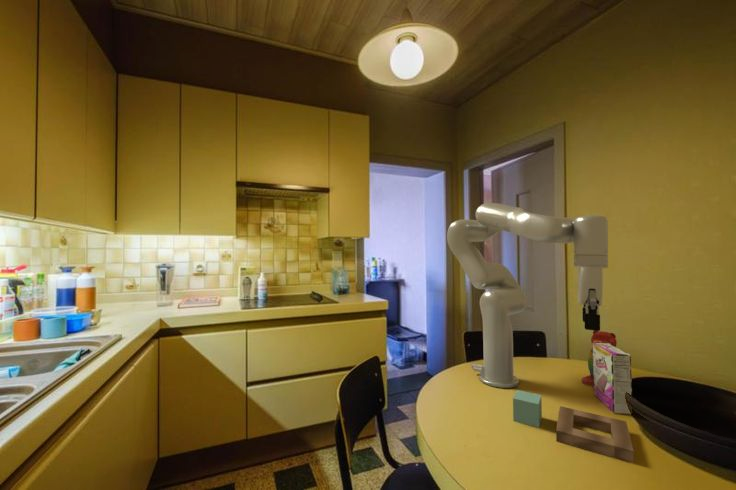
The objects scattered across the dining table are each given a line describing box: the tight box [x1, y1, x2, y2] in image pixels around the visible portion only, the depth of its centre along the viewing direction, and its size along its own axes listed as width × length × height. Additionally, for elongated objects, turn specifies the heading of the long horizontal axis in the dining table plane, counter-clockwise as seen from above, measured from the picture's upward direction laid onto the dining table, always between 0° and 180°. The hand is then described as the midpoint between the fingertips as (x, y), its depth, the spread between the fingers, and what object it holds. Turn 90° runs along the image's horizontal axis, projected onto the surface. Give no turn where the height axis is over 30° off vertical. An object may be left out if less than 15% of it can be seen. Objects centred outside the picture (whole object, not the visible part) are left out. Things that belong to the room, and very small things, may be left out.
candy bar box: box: [591, 342, 633, 416], centre depth 91 cm, size 11×5×16 cm, turn 168°
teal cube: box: [512, 389, 543, 429], centre depth 84 cm, size 6×6×6 cm
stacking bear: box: [580, 330, 618, 387], centre depth 104 cm, size 11×10×18 cm
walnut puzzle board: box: [555, 405, 635, 464], centre depth 76 cm, size 14×14×2 cm
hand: (590, 325), depth 84 cm, fingers open, 9 cm apart
